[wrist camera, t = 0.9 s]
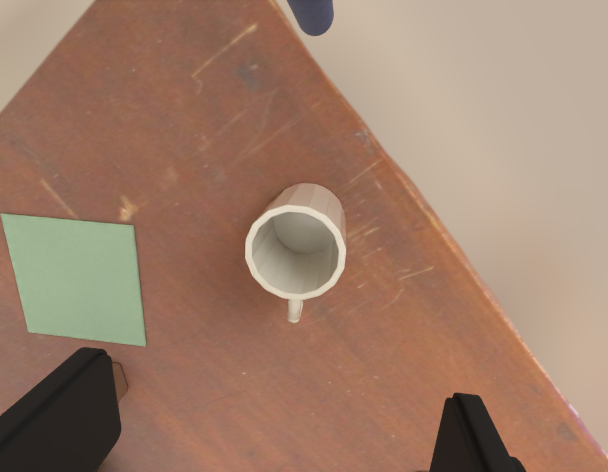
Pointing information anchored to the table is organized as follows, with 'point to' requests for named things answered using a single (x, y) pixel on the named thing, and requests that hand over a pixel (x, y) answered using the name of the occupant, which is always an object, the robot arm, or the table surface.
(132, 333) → the mat
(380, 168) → the table surface
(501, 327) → the table surface
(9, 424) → the robot arm
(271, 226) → the mug
